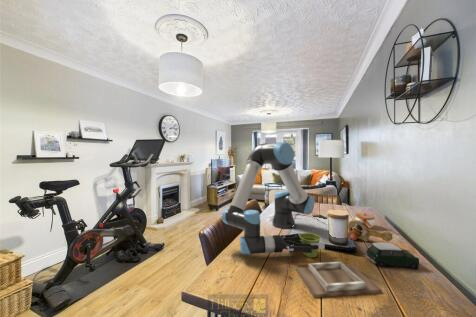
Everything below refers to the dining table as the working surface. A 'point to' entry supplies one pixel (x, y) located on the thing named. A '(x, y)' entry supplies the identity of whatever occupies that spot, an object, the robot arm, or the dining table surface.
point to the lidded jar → (369, 218)
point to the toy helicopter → (365, 230)
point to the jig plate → (335, 280)
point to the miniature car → (391, 256)
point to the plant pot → (308, 239)
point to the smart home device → (319, 216)
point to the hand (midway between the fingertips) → (319, 241)
